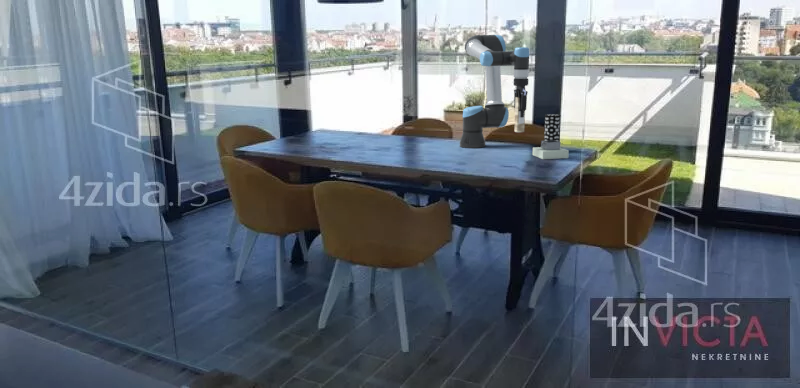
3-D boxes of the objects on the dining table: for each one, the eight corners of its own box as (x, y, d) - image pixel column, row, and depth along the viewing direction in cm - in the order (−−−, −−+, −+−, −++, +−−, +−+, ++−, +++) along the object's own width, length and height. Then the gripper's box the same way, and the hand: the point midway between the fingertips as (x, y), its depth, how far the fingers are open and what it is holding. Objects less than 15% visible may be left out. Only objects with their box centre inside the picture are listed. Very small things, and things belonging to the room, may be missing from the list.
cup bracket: (546, 150, 323) (546, 142, 322) (540, 148, 330) (541, 140, 329) (560, 149, 324) (560, 142, 323) (554, 147, 331) (554, 140, 330)
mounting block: (542, 159, 320) (542, 151, 319) (532, 154, 334) (532, 147, 333) (568, 158, 322) (568, 150, 321) (557, 153, 336) (557, 146, 335)
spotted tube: (559, 150, 348) (561, 114, 344) (558, 152, 340) (559, 115, 336) (544, 149, 351) (545, 114, 346) (542, 151, 343) (544, 115, 339)
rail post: (517, 132, 327) (518, 97, 322) (514, 131, 330) (515, 97, 326) (524, 132, 327) (525, 97, 323) (521, 131, 331) (522, 97, 327)
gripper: (534, 78, 315) (532, 124, 320) (522, 76, 331) (520, 120, 337) (520, 78, 313) (518, 125, 319) (508, 77, 330) (507, 121, 335)
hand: (519, 122), depth 328 cm, fingers closed on rail post, 4 cm apart
